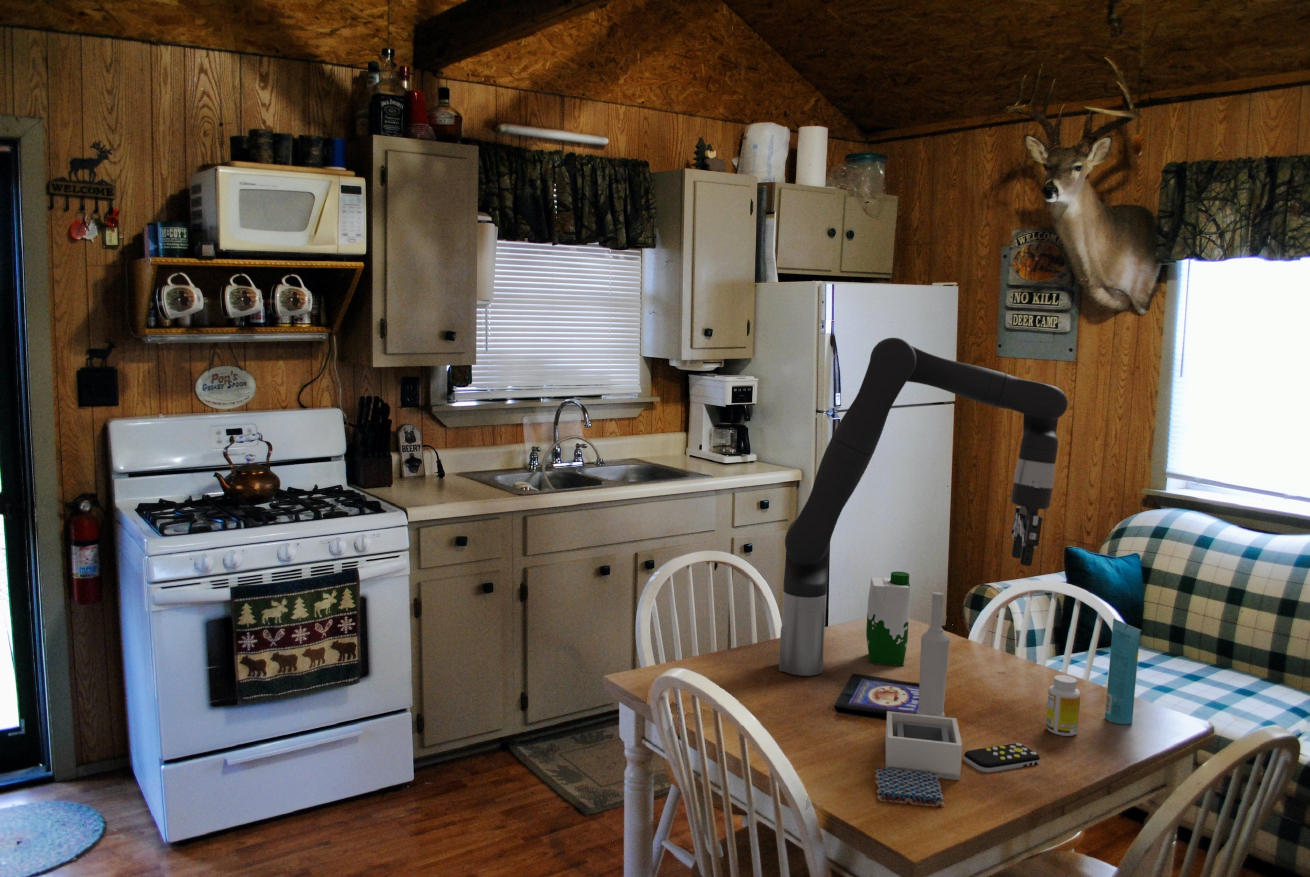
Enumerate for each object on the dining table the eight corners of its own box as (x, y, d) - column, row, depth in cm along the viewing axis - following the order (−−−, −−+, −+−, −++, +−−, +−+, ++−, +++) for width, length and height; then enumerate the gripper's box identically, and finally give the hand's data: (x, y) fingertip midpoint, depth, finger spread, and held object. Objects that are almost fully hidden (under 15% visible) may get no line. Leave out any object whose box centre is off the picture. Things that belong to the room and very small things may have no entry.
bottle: (944, 718, 194) (953, 591, 192) (943, 728, 190) (951, 598, 187) (917, 713, 196) (925, 588, 193) (915, 723, 191) (922, 595, 188)
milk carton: (908, 667, 223) (913, 579, 220) (866, 664, 224) (871, 576, 222) (903, 655, 231) (908, 569, 229) (863, 652, 232) (868, 567, 230)
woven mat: (937, 781, 168) (938, 770, 168) (945, 811, 158) (946, 799, 158) (873, 775, 170) (874, 764, 170) (877, 805, 159) (878, 792, 159)
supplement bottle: (1083, 732, 189) (1087, 679, 188) (1067, 739, 186) (1072, 686, 185) (1055, 722, 194) (1059, 671, 193) (1039, 729, 190) (1043, 677, 189)
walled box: (885, 771, 170) (887, 737, 170) (885, 742, 182) (887, 710, 181) (959, 780, 168) (962, 745, 167) (954, 750, 180) (956, 718, 179)
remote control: (959, 760, 177) (960, 749, 176) (1018, 751, 181) (1019, 740, 181) (983, 775, 171) (984, 764, 171) (1043, 765, 175) (1044, 754, 175)
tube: (1142, 725, 193) (1151, 628, 191) (1123, 728, 192) (1131, 630, 190) (1113, 711, 200) (1121, 617, 198) (1093, 714, 199) (1101, 619, 196)
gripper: (1007, 477, 212) (995, 552, 214) (1021, 484, 198) (1008, 565, 200) (1044, 482, 211) (1032, 558, 213) (1061, 489, 197) (1048, 570, 199)
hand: (1020, 561), depth 206 cm, fingers open, 8 cm apart
